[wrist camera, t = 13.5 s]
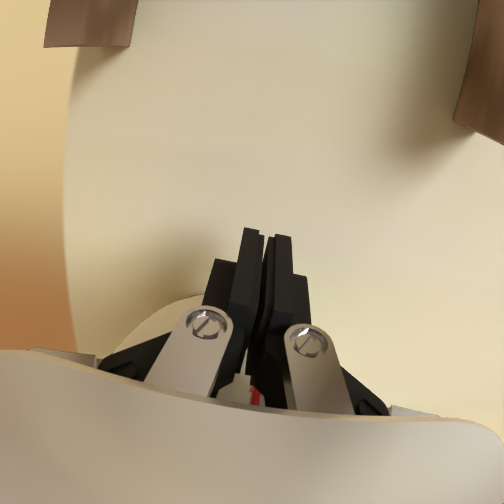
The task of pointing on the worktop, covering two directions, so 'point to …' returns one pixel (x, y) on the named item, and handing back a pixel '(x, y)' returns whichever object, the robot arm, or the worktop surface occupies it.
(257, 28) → the worktop surface
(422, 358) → the worktop surface
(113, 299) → the worktop surface
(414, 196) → the worktop surface
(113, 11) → the wooden planks
